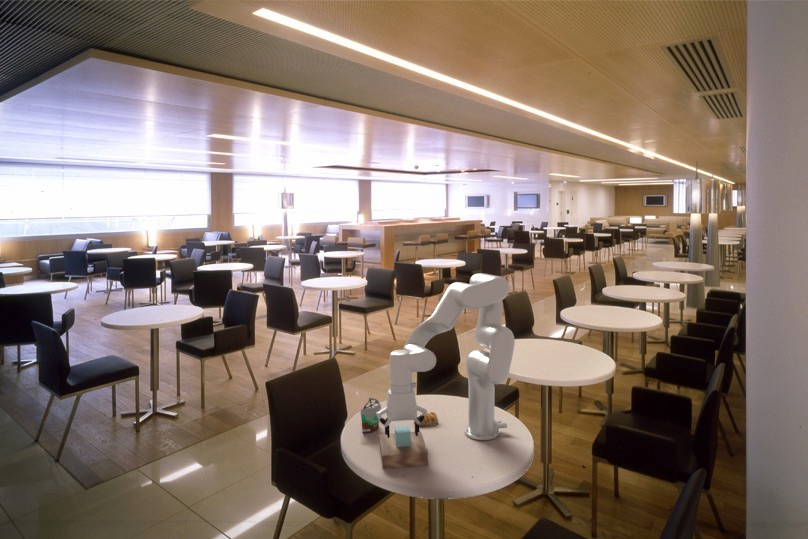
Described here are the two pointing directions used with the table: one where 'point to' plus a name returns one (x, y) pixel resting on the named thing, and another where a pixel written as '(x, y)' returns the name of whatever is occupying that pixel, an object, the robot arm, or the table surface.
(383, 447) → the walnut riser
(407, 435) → the teal cube
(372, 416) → the food container
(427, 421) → the pastry
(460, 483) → the table surface
